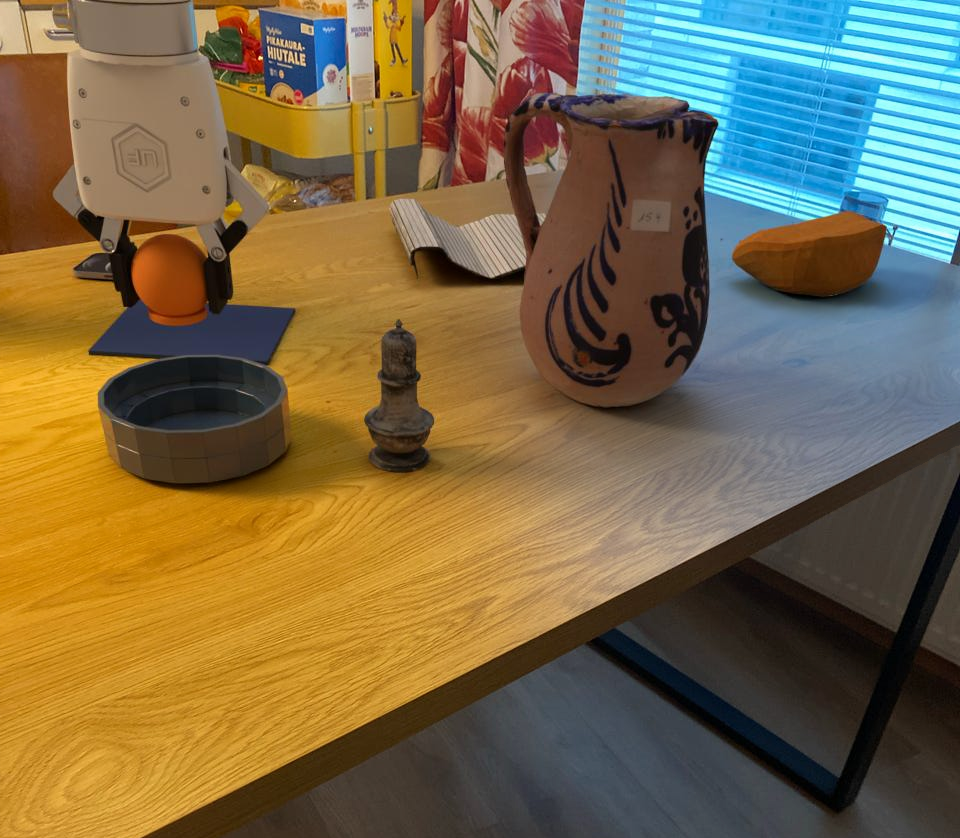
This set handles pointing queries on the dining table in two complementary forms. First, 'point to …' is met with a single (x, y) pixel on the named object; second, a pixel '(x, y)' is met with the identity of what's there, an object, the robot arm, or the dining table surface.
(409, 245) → the mat
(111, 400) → the bowl
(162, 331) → the cloth
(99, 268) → the smartphone
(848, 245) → the bread
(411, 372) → the salt shaker
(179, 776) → the dining table surface
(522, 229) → the ceramic pitcher
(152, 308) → the orange rounded piece
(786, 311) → the dining table surface
